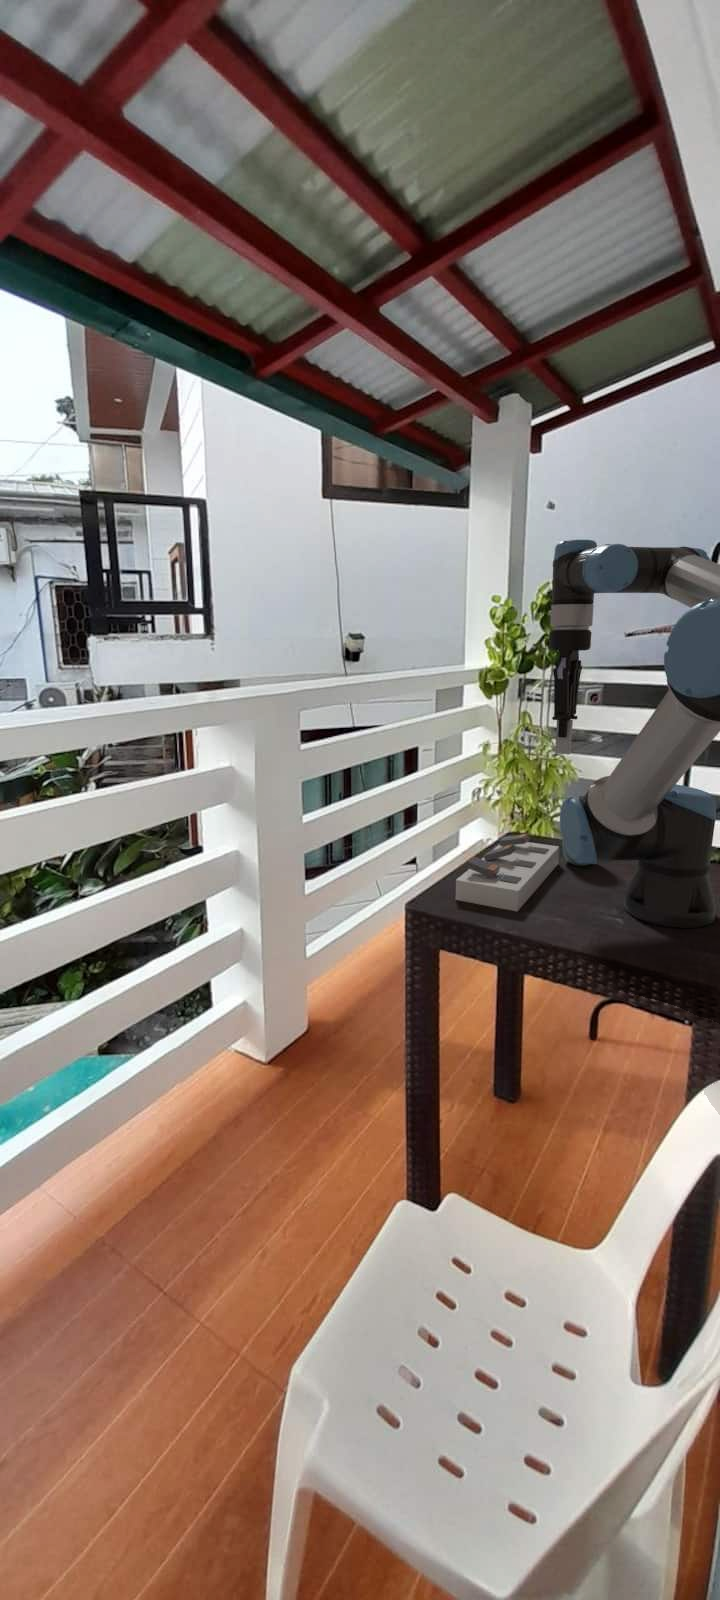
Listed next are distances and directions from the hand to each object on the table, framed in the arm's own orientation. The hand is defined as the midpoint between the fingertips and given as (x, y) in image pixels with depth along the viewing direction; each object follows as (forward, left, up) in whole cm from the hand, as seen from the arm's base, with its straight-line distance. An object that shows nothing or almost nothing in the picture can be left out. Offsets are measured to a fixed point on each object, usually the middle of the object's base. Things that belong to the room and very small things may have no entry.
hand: (562, 753), depth 136 cm
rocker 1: (+11, +14, -21) cm, 27 cm away
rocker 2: (+11, +4, -21) cm, 24 cm away
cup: (-2, -14, -27) cm, 30 cm away
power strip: (+8, 0, -26) cm, 28 cm away
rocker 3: (+11, -6, -21) cm, 24 cm away
